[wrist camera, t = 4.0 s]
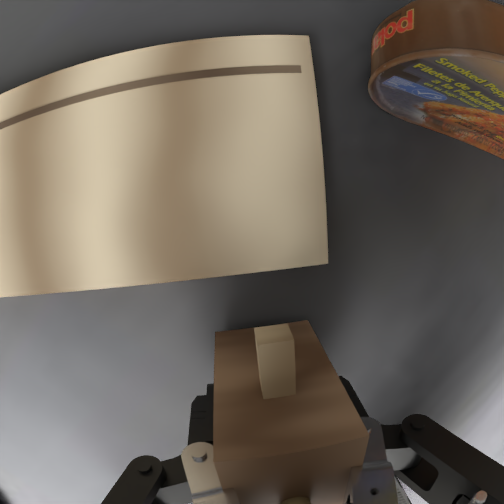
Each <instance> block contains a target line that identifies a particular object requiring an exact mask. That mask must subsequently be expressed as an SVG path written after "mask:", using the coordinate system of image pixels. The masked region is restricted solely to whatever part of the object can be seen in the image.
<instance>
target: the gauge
mask: <svg viewBox="0 0 504 504" xmlns="http://www.w3.org/2000/svg"><path fill="white" fill-rule="evenodd" d="M368 440H369V433H368V431H367V429H366V427H365V426H364V424H363V422H362V420H361V418H360V416H359V414H358V412H357V410H356V409H355V407H354V405H353V403H352V401H351V399H350V397H349V395H348V394H347V392H346V390H345V388H344V386H343V384H342V382H341V380H340V379H339V377H338V375H337V373H336V371H335V369H334V367H333V366H332V364H331V362H330V360H329V358H328V356H327V355H326V353H325V351H324V349H323V347H322V345H321V344H320V342H319V340H318V338H317V336H316V334H315V333H314V331H313V329H312V327H311V325H310V323H309V322H308V320H304V321H298V322H291V323H284V324H277V325H270V326H262V327H254V328H246V329H238V330H229V331H220V332H215V357H214V410H213V463H214V466H215V469H216V472H217V475H218V478H219V481H220V484H221V487H222V489H227V488H234V489H235V492H236V494H237V496H238V498H239V500H240V502H241V504H342V503H343V499H344V495H345V491H346V487H347V483H348V479H349V474H350V470H351V467H354V466H360V465H363V461H364V457H365V453H366V449H367V444H368Z"/></svg>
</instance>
